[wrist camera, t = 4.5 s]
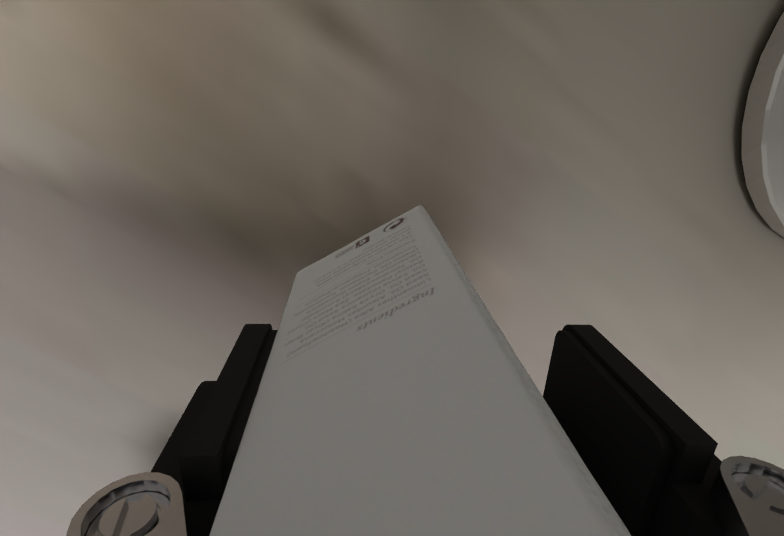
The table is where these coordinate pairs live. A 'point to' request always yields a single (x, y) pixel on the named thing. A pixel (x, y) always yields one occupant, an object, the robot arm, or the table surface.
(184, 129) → the table surface
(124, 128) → the table surface
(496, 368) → the skincare box
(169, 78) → the table surface
